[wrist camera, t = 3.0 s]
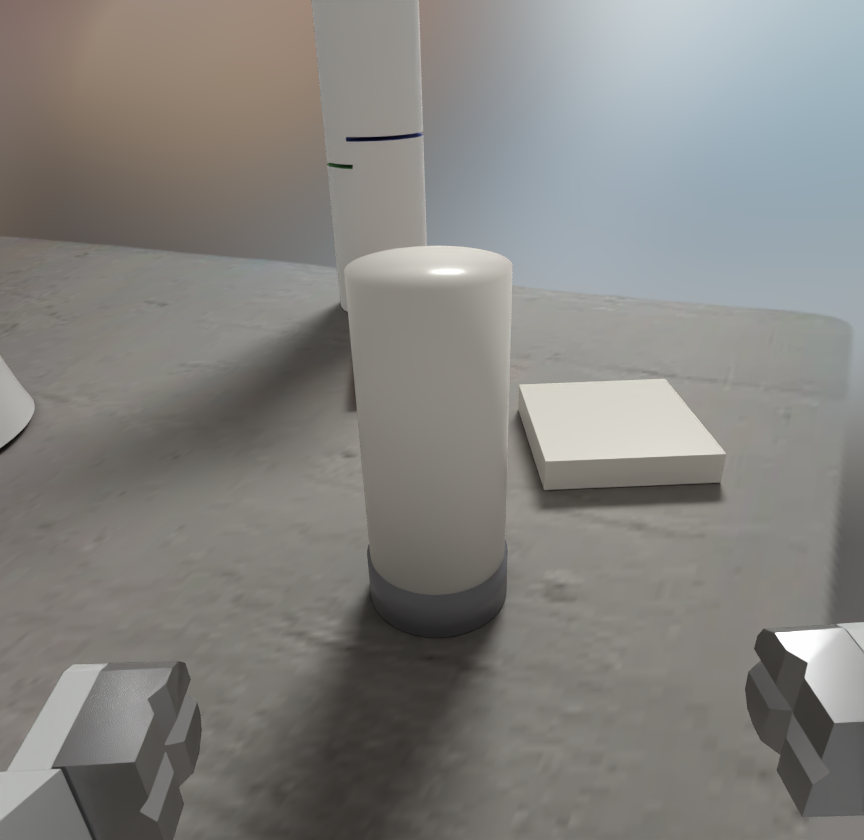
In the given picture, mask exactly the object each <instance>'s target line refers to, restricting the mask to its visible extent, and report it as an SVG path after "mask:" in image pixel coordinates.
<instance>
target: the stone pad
mask: <svg viewBox="0 0 864 840" xmlns="http://www.w3.org/2000/svg"><path fill="white" fill-rule="evenodd" d="M518 410H519V413H520V416H521V420H522V423H523V426H524V429H525V432H526V435H527V438H528V441H529V445H530V448H531V451H532V454H533V457H534V460H535V463H536V466H537V470H538V473H539V476H540V479H541V482H542V485H543V488H544V490H555V489H579V488H602V487H626V486H650V485H673V484H697V483H720V482H721V478H722V473H723V468H724V463H725V458H726V453H725V452H724V450H723V449H722V448H721V447H720V446H719V444H718V443H717V442H716V441H715V439H714V438H713V437H712V436H711V435H710V433H709V432H708V431H707V430H706V428H705V427H704V426H703V425H702V423H701V422H700V421H699V420H698V419H697V417H696V416H695V415H694V414H693V412H692V411H691V410H690V409H689V408H688V406H687V405H686V404H685V403H684V401H683V400H682V399H681V398H680V396H679V395H678V394H677V393H676V392H675V390H674V389H673V388H672V387H671V385H670V384H669V383H668V382H667V381H666V379H650V380H625V381H600V382H575V383H550V384H525V385H519V401H518Z"/></svg>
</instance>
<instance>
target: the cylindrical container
mask: <svg viewBox="0 0 864 840" xmlns="http://www.w3.org/2000/svg"><path fill="white" fill-rule="evenodd" d="M311 1H312V11H313V21H314V32H315V42H316V52H317V62H318V73H319V84H320V94H321V104H322V115H323V125H324V135H325V146H326V156H327V161H328V162H330V163H328V164H327V167H328V177H329V188H330V198H331V209H332V219H333V229H334V240H335V251H336V261H337V272H338V282H339V293H340V303H341V307H342V308H343V309H344V310H345V311H347V312H348V307H347V296H346V285H345V274H344V269H345V267H346V266H347V265H348V264H349V263H350V262H352V261H354V260H356V259H358V258H360V257H363V256H365V255H369V254H372V253H376V252H380V251H385V250H391V249H397V248H405V247H417V246H427V241H426V211H425V179H424V150H423V134H421V133H418V132H421V131H423V119H422V88H421V55H420V24H419V0H311Z"/></svg>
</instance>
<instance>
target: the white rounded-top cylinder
mask: <svg viewBox="0 0 864 840" xmlns="http://www.w3.org/2000/svg"><path fill="white" fill-rule="evenodd" d="M344 274H345V285H346V296H347V307H348V318H349V329H350V340H351V351H352V362H353V373H354V384H355V395H356V406H357V417H358V428H359V439H360V449H361V460H362V471H363V482H364V493H365V504H366V515H367V526H368V537H369V545H368V550H367V557H368V568H369V579H370V589H371V598H372V602H373V604H374V607H375V609H376V610H377V612H378V613H379V615H380V616H381V617H382V618H383V619H384V620H385V621H387V622H388V623H389V624H390V625H392V626H394V627H395V628H397V629H399V630H401V631H404V632H406V633H409V634H413V635H417V636H422V637H431V638H443V637H452V636H457V635H462V634H465V633H468V632H471V631H473V630H475V629H478V628H479V627H481V626H483V625H485V624H486V623H487V622H489V621H490V620H491V619H492V618H493V617H494V616H495V615H496V614H497V613H498V612H499V610H500V609H501V607H502V605H503V603H504V600H505V597H506V585H507V552H508V551H507V544H506V541H505V521H506V484H507V448H508V411H509V374H510V338H511V301H512V263H511V262H510V260H508V259H507V258H506V257H504V256H502V255H500V254H497V253H494V252H490V251H486V250H481V249H475V248H468V247H457V246H417V247H405V248H397V249H391V250H385V251H380V252H376V253H372V254H369V255H365V256H363V257H360V258H358V259H356V260H354V261H352V262H350V263H349V264H348V265H347V266H346V267H345V269H344Z"/></svg>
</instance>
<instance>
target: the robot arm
mask: <svg viewBox="0 0 864 840" xmlns="http://www.w3.org/2000/svg"><path fill="white" fill-rule="evenodd" d="M34 408H35V407H34V401H33V399H32V398H31V396H30V395H29V394H28V393H27V392H26V390H25V389H24V388H23V387H22V386H21V384H20V383H19V382H18V380H17V379H16V378H15V376H14V375H13V373H12V372H11V370H10V369H9V368H8V366H7V365H6V363H5V362H4V360H3V359H2V357H1V355H0V448H1V447H2V446H4V445H5V444H6V443H8V442H9V441H10V440H12V439H13V438H14V437H15V436H16V435H17V434H19V433H20V432H21V431H22V430H23V428H24V427H25V426H26V425H27V424H28V422H29V421H30V419H31V417H32V416H33V413H34ZM754 649H755V651H756V653H757V655H758V656H759V658H760V660H761V661H760V662H759V663H758V664H756V665H755V666H754V667H753V668H752V669H751V670H750V671H749V672H748V677H747V682H746V687H745V692H746V701H747V709H748V712H749V715H750V718H751V721H752V724H753V726H754V728H755V730H756V732H757V734H758V736H759V738H760V740H761V741H762V742H763V743H765V744H766V745H768V746H769V747H770V748H772V749H773V750H774V751H776V752H777V753H778V754H780V757H779V762H778V767H777V772H778V774H779V775H780V777H781V779H782V781H783V783H784V785H785V787H786V788H787V790H788V792H789V794H790V796H791V798H792V800H793V801H794V803H795V805H796V807H797V809H798V811H799V813H800V814H801V816H802V817H826V816H859V815H861V816H862V815H864V622H862V623H846V624H835V625H830V624H828V625H812V626H797V627H782V628H766V629H763V630H762V631H761V632H760V633H759V635H758V636H757V640H756V644H755V647H754ZM190 680H191V679H190V676H189V673H188V670H187V667H186V664H185V663H184V662H180V661H161V662H126V663H109V664H80V665H72V666H71V667H70V668H68V669H67V670H66V671H65V672H64V673H63V674H62V675H61V677H60V679H59V680H58V682H57V684H56V686H55V687H54V689H53V691H52V692H51V694H50V696H49V698H48V699H47V701H46V703H45V705H44V706H43V708H42V710H41V712H40V713H39V715H38V717H37V718H36V720H35V722H34V724H33V725H32V727H31V729H30V731H29V732H28V734H27V736H26V737H25V739H24V741H23V743H22V744H21V746H20V748H19V750H18V751H17V753H16V755H15V757H14V758H13V760H12V762H11V763H10V765H9V767H8V769H7V770H6V771H5V772H0V840H173V838H174V835H175V831H176V828H177V825H178V822H179V818H180V815H181V812H182V809H183V805H184V802H183V799H182V796H181V793H180V790H179V787H180V786H181V785H182V784H183V783H184V782H185V781H186V780H187V779H188V778H189V777H190V776H191V775H192V774H193V773H194V769H195V766H196V762H197V759H198V755H199V750H200V741H201V732H202V728H201V715H200V711H199V707H198V703H197V701H195V700H194V699H193V698H191V697H190V696H189V695H187V694H186V692H187V689H188V686H189V683H190Z"/></svg>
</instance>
